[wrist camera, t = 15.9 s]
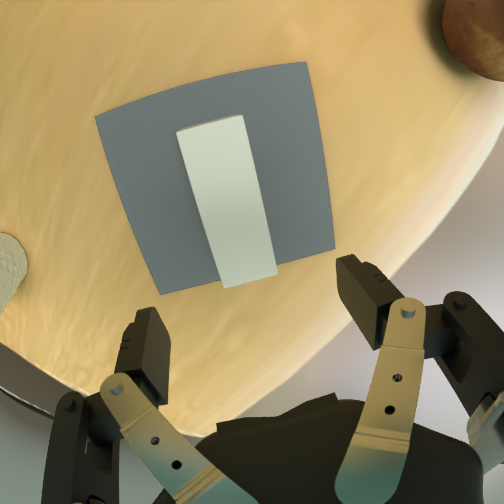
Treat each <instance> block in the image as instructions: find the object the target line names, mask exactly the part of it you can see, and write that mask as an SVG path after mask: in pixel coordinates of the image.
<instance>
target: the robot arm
mask: <svg viewBox="0 0 504 504" xmlns="http://www.w3.org/2000/svg"><path fill="white" fill-rule="evenodd" d="M336 273H337V288H338V293H339V296H340V299H341V301H342V302H343V304H344V305H345V307H346V308H347V310H348V311H349V313H350V315H351V316H352V318H353V319H354V321H355V322H356V324H357V325H358V327H359V329H360V330H361V332H362V333H363V335H364V336H365V338H366V340H367V341H368V343H369V344H370V346H371V348H372V349H373V350H377V349H379V348H380V352H379V356H378V360H377V364H376V367H375V371H374V375H373V378H372V382H371V385H370V389H369V392H368V396H367V399H366V402H364V401H359V400H352V399H341V400H338V399H337V397H336V394H335V393H331V394H328V395H325V396H322V397H319V398H316V399H313V400H309V401H306V402H304V403H302V404H301V405H299V406H297V407H295V408H293V409H291V410H290V411H288V412H286V413H284V414H282V415H279V416H276V417H245V418H239V419H235V420H230V421H224V422H219V423H216V425H217V432H214V433H212V434H210V435H209V436H207V437H205V438H204V439H203V440H201V441H200V442H199V443H198V444H197V445H196V446H195V447H193V446H192V445H191V444H190V443H189V442H188V441H187V440H186V439H185V438H184V437H183V436H182V435H181V434H180V433H179V432H178V431H177V430H176V429H175V428H174V427H173V426H172V425H171V424H170V423H169V421H168V420H167V419H166V418H165V417H164V416H163V415H162V414H161V413H160V412H159V411H158V407H159V405H166V404H168V385H169V366H170V350H171V341H170V337H169V334H168V331H167V329H166V327H165V326H164V324H163V322H162V320H161V318H160V316H159V314H158V312H157V310H156V308H155V307H149V308H144V309H140V310H137V312H136V317H135V321H134V323H130V324H129V325H128V327H127V328H126V330H125V331H124V333H123V337H122V343H121V345H120V350H119V353H118V357H117V362H116V366H115V371H114V374H112V375H110V376H109V377H108V378H106V379H105V380H104V382H103V383H102V385H101V387H100V392H98V393H95V394H93V395H90V396H88V397H86V398H84V397H83V396H82V395H81V394H80V393H79V392H77V391H72V392H68V393H66V394H65V395H64V396H62V397H61V399H60V400H59V402H58V404H57V407H56V412H55V416H54V421H53V425H52V430H51V436H50V440H49V446H48V452H47V458H46V465H45V472H44V480H43V489H42V499H41V504H119V446H120V439H123V438H125V439H126V440H127V442H128V443H129V444H130V446H131V447H132V448H133V450H134V451H135V452H136V454H137V455H138V456H139V458H140V459H141V460H142V462H143V463H144V464H145V465H146V467H147V468H148V469H149V470H150V471H151V473H152V474H153V475H154V476H155V478H156V479H157V480H158V481H159V482H160V484H161V485H162V486H163V487H164V489H163V491H162V492H161V493H160V494H159V496H158V497H157V498H156V500H155V501H154V502H153V504H484V501H483V475H485V474H486V473H487V472H489V471H490V470H492V469H493V468H495V467H496V466H497V465H499V464H504V332H503V331H502V330H501V329H500V327H499V326H498V325H497V324H496V323H495V322H494V321H493V320H492V318H491V317H490V316H489V315H488V314H487V313H486V312H485V311H484V310H483V309H482V307H481V306H480V305H479V304H478V303H477V302H476V301H475V300H474V299H473V298H472V297H471V296H470V295H468V294H466V293H464V292H460V291H454V292H450V293H448V294H447V295H446V296H445V298H444V301H443V304H439V305H432V306H424V305H423V303H422V302H420V301H419V300H417V299H414V298H405V297H404V296H403V294H402V293H401V292H400V291H399V290H398V289H397V288H396V287H395V286H394V285H393V284H392V283H391V281H390V280H388V279H387V277H386V276H385V275H384V274H383V273H382V272H381V271H380V270H379V269H378V268H377V266H375V265H373V264H371V263H369V262H363V263H361V262H360V261H359V259H358V258H357V257H356V256H355V255H354V254H350V255H347V256H343V257H340V258H337V259H336ZM428 358H434V359H435V361H436V362H437V364H438V365H439V367H440V368H441V370H442V372H443V373H444V375H445V376H446V378H447V380H448V381H449V383H450V384H451V386H452V388H453V389H454V391H455V392H456V394H457V396H458V398H459V399H460V401H461V403H462V404H463V406H464V408H465V410H466V411H467V413H468V415H469V417H470V418H469V420H468V423H467V433H468V438H469V445H468V444H467V443H465V442H463V441H460V440H457V439H454V438H452V437H449V436H446V435H444V434H441V433H438V432H436V431H433V430H431V429H428V428H426V427H423V426H421V425H419V424H416V423H414V417H415V412H416V407H417V402H418V396H419V390H420V384H421V377H422V370H423V362H424V359H428ZM86 440H87V450H86V454H85V449H86Z"/></svg>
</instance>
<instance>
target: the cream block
mask: <svg viewBox="0 0 504 504" xmlns="http://www.w3.org/2000/svg"><path fill="white" fill-rule="evenodd" d="M176 135H177V138H178V142H179V145H180V149H181V152H182V156H183V159H184V163H185V166H186V169H187V173H188V176H189V180H190V183H191V186H192V190H193V193H194V196H195V200H196V203H197V206H198V209H199V213H200V216H201V219H202V222H203V225H204V229H205V232H206V235H207V238H208V241H209V244H210V248H211V251H212V254H213V257H214V260H215V263H216V266H217V269H218V272H219V275H220V278H221V281H222V284H223V287H224V289H226V288H230V287H234V286H237V285H241V284H245V283H249V282H252V281H256V280H260V279H263V278H267V277H271V276H274V275H278V271H277V266H276V261H275V257H274V252H273V247H272V242H271V238H270V233H269V229H268V224H267V219H266V215H265V210H264V206H263V201H262V197H261V192H260V188H259V183H258V179H257V175H256V170H255V166H254V161H253V157H252V153H251V148H250V144H249V140H248V136H247V131H246V127H245V123H244V119H243V115H239V114H235V115H231V116H226V117H222V118H218V119H215V120H211V121H207V122H203V123H200V124H196V125H192V126H189V127H186V128H182V129H180V130H179V131H178V132H176Z"/></svg>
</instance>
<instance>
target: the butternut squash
mask: <svg viewBox="0 0 504 504" xmlns="http://www.w3.org/2000/svg"><path fill="white" fill-rule="evenodd" d="M442 29H443V35H444V38H445V41H446V43H447V45H448V48H449V50H450V52H451V54H452V55H453V56H454V57H455V58H456V59H457V60H458V61H460V62H462V63H464V64H465V65H466V66H467V67H468V68H469V69H470V70H472V71H473V72H475V73H477V74H478V75H480V76H483V77H485V78H487V79H490V80H495V81H502V82H504V0H446V2H445V7H444V12H443V18H442Z"/></svg>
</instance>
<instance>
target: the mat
mask: <svg viewBox="0 0 504 504" xmlns="http://www.w3.org/2000/svg"><path fill="white" fill-rule="evenodd" d="M235 114H239V115H243V119H244V123H245V127H246V131H247V136H248V140H249V144H250V148H251V153H252V157H253V161H254V166H255V170H256V175H257V179H258V183H259V188H260V192H261V197H262V201H263V206H264V210H265V215H266V219H267V224H268V229H269V233H270V238H271V242H272V247H273V252H274V257H275V261H276V265H279V264H283V263H286V262H290V261H294V260H297V259H301V258H305V257H308V256H312V255H315V254H319V253H323V252H326V251H330V250H333V249H335V239H334V229H333V219H332V210H331V202H330V193H329V186H328V178H327V171H326V164H325V157H324V151H323V145H322V138H321V132H320V127H319V121H318V115H317V110H316V105H315V100H314V95H313V90H312V85H311V80H310V75H309V71H308V66H307V62H297V63H289V64H281V65H274V66H268V67H262V68H256V69H250V70H245V71H240V72H235V73H230V74H226V75H221V76H217V77H213V78H208V79H204V80H201V81H197V82H193V83H189V84H186V85H182V86H179V87H175V88H172V89H169V90H166V91H162V92H159V93H156V94H153V95H150V96H147V97H144V98H141V99H139V100H136V101H133V102H130V103H128V104H125V105H123V106H120V107H117V108H115V109H112V110H110V111H108V112H105V113H103V114H100V115H98V116H96V117H95V120H96V124H97V127H98V131H99V134H100V138H101V141H102V144H103V148H104V151H105V154H106V157H107V160H108V163H109V166H110V170H111V173H112V175H113V178H114V181H115V184H116V187H117V190H118V193H119V196H120V198H121V201H122V204H123V207H124V209H125V212H126V215H127V217H128V220H129V222H130V225H131V228H132V230H133V233H134V235H135V238H136V240H137V243H138V245H139V247H140V250H141V252H142V255H143V257H144V259H145V262H146V264H147V266H148V269H149V271H150V273H151V275H152V278H153V280H154V282H155V284H156V287H157V289H158V291H159V293H160V295H163V294H167V293H171V292H175V291H179V290H183V289H187V288H191V287H195V286H199V285H203V284H207V283H211V282H214V281H218V280H221V278H220V275H219V272H218V269H217V266H216V263H215V260H214V257H213V254H212V251H211V248H210V244H209V241H208V238H207V235H206V232H205V229H204V225H203V222H202V219H201V216H200V213H199V209H198V206H197V203H196V200H195V196H194V193H193V190H192V186H191V183H190V180H189V176H188V173H187V169H186V166H185V163H184V159H183V156H182V152H181V149H180V145H179V142H178V138H177V135H176V132H178V131H179V130H180V129H182V128H186V127H189V126H192V125H196V124H200V123H203V122H207V121H211V120H215V119H218V118H222V117H226V116H231V115H235Z"/></svg>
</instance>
